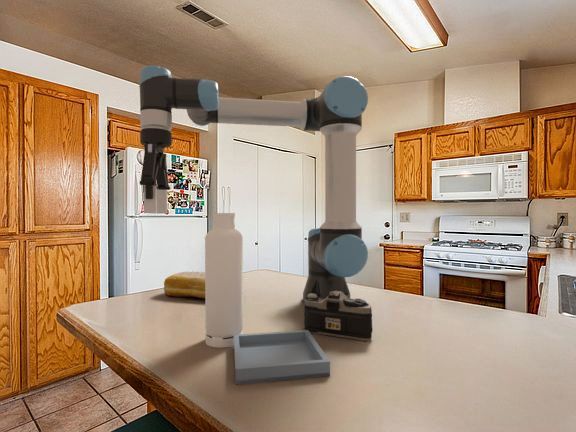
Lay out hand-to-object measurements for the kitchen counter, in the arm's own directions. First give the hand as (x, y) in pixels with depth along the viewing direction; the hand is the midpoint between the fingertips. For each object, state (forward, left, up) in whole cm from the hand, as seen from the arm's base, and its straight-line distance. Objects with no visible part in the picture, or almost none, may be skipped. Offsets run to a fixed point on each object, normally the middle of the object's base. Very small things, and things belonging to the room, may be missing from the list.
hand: (156, 213), depth 87 cm
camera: (-44, +15, -28) cm, 54 cm away
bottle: (-17, +16, -28) cm, 36 cm away
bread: (-9, -27, -28) cm, 40 cm away
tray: (-27, +28, -28) cm, 48 cm away
